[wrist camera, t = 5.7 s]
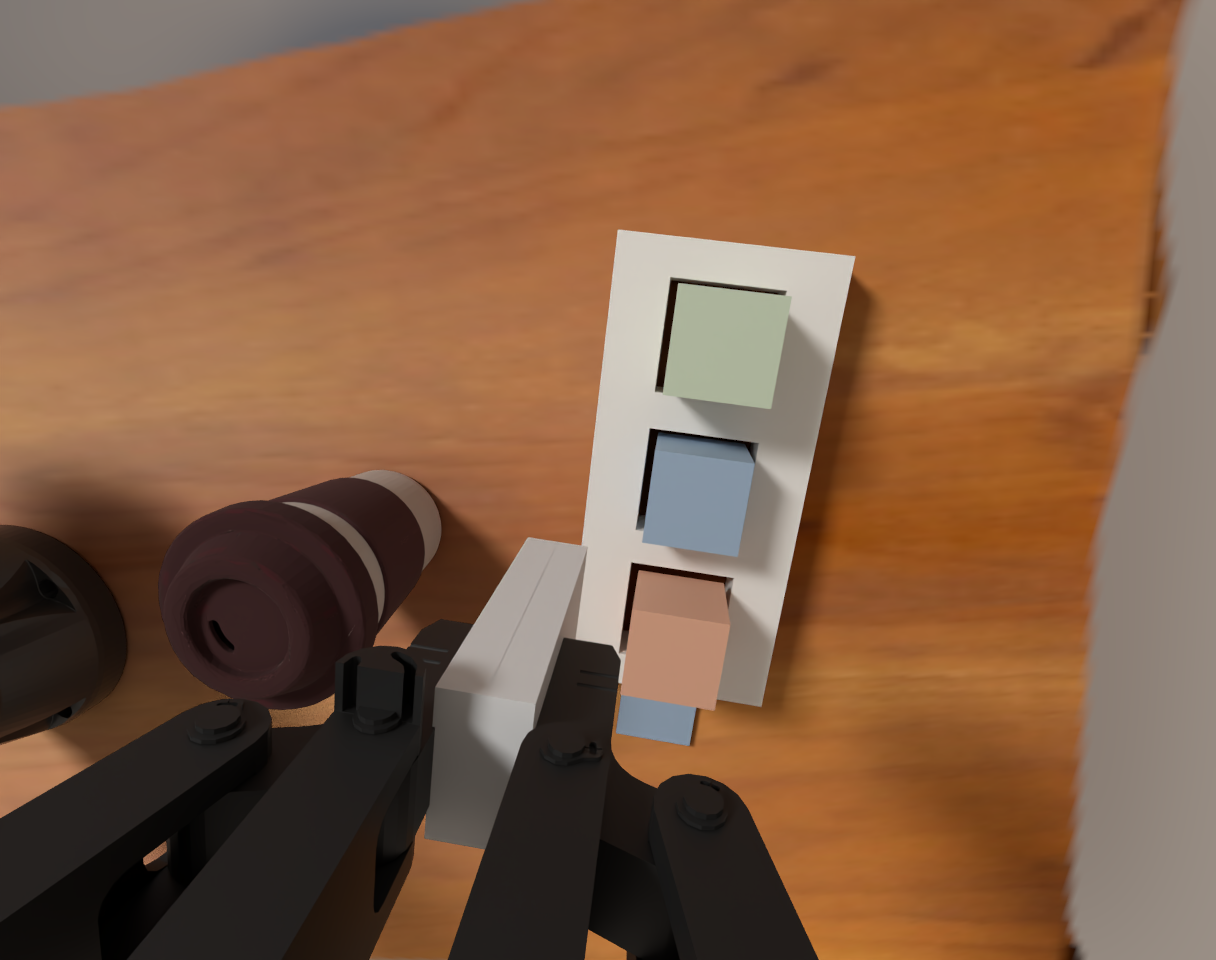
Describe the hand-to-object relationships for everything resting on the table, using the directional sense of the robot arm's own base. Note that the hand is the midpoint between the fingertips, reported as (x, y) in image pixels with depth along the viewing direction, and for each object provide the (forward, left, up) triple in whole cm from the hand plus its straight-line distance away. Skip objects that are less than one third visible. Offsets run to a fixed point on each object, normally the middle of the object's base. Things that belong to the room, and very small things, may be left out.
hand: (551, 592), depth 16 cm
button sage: (+4, +6, -20) cm, 22 cm away
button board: (+4, -2, -23) cm, 24 cm away
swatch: (+4, -18, -23) cm, 30 cm away
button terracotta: (+4, -10, -20) cm, 23 cm away
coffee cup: (-15, -8, -24) cm, 29 cm away
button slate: (+4, -2, -22) cm, 23 cm away
